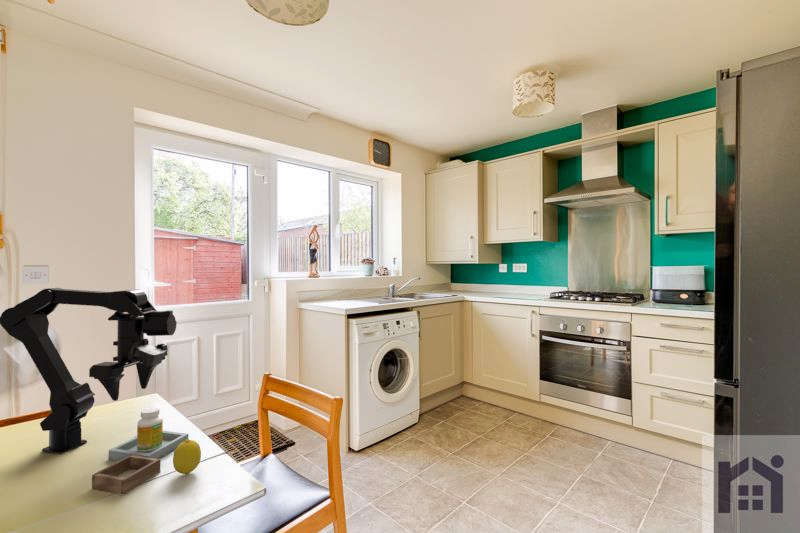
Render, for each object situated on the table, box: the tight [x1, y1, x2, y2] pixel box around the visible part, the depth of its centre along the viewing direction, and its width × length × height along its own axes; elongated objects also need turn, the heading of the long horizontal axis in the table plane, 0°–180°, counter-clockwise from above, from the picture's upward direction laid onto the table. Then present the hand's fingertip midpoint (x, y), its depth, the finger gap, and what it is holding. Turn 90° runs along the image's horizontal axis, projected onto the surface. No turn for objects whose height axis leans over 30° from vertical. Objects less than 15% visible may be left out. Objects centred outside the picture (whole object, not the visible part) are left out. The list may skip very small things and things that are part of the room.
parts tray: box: [108, 429, 189, 462], centre depth 93 cm, size 12×12×2 cm
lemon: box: [172, 438, 202, 476], centre depth 82 cm, size 6×6×8 cm
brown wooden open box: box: [91, 455, 161, 496], centre depth 80 cm, size 9×9×3 cm
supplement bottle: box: [136, 406, 164, 452], centre depth 93 cm, size 5×5×10 cm
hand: (130, 394), depth 97 cm, fingers open, 9 cm apart
